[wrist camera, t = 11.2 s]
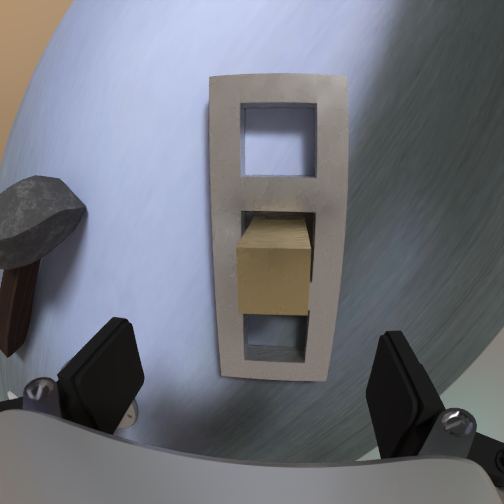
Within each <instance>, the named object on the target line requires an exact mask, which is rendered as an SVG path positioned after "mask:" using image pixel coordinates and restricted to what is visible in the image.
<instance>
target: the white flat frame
mask: <svg viewBox="0 0 504 504" xmlns="http://www.w3.org/2000/svg"><path fill="white" fill-rule="evenodd" d="M245 108H314V118H315V163H314V176H301V175H245ZM209 142H210V189H211V219H212V243H213V263H214V281H215V298H216V313H217V327H218V341H219V353H220V365H221V376H229V377H240V378H253V379H268V380H290V381H326V379H327V373H328V368H329V362H330V356H331V350H332V343H333V337H334V330H335V323H336V315H337V308H338V300H339V291H340V282H341V273H342V262H343V251H344V239H345V225H346V209H347V187H348V87H347V77H346V76H334V75H319V74H288V73H272V74H240V75H225V76H213V77H209ZM246 211H287V212H313V233H312V253H311V270H310V286H309V303H308V315H307V322H306V333H305V344H304V347H282V346H262V345H248V330H247V314H243V313H239V305H238V284H237V261H236V247H237V245H238V243H239V242H240V240H241V238H242V237H243V235H244V233H245V232H246Z"/></svg>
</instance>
